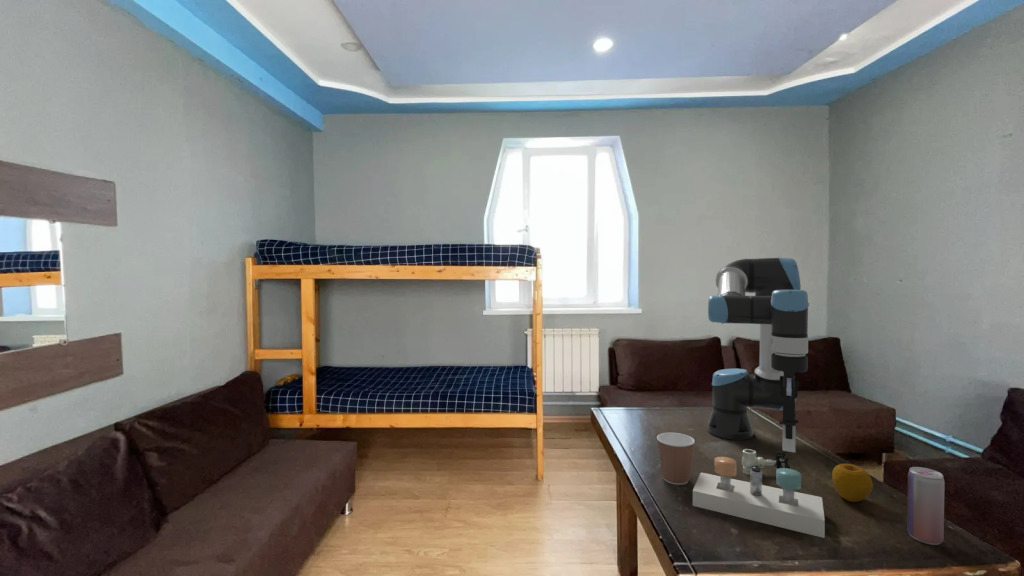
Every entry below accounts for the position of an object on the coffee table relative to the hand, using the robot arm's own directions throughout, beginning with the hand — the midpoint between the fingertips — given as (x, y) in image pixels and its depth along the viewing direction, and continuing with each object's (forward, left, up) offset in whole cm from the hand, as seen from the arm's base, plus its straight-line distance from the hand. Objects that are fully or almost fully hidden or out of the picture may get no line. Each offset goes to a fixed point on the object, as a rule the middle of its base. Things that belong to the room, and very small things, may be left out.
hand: (788, 450), depth 110 cm
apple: (-18, +14, -17) cm, 29 cm away
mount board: (0, -7, -17) cm, 18 cm away
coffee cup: (-7, -28, -17) cm, 33 cm away
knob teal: (0, 0, -13) cm, 13 cm away
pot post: (0, -7, -13) cm, 14 cm away
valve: (-24, -7, -17) cm, 30 cm away
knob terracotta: (0, -14, -13) cm, 19 cm away
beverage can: (-5, +26, -17) cm, 31 cm away
